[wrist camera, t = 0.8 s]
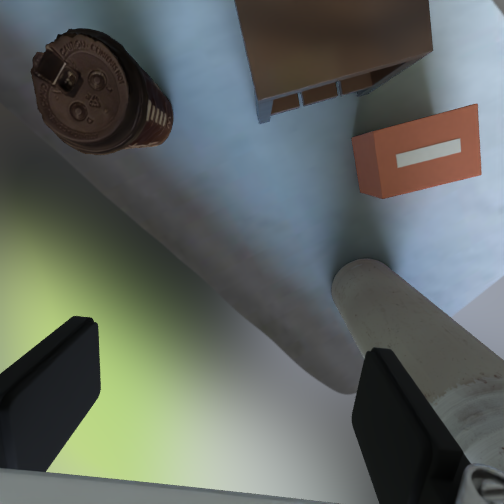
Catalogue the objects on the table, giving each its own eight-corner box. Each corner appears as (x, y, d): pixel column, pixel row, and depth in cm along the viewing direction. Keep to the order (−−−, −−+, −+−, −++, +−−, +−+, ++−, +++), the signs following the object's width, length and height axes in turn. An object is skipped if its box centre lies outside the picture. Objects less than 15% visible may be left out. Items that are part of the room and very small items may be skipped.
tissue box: (351, 137, 34) (373, 131, 27) (434, 115, 33) (478, 102, 27) (359, 192, 36) (382, 199, 29) (439, 172, 35) (482, 174, 28)
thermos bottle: (402, 304, 39) (705, 605, 13) (342, 325, 41) (502, 643, 14) (385, 248, 38) (699, 461, 11) (322, 271, 39) (463, 518, 12)
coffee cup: (97, 81, 33) (-1, 33, 21) (170, 63, 33) (114, 1, 20) (122, 164, 36) (48, 163, 23) (191, 148, 35) (153, 139, 23)
